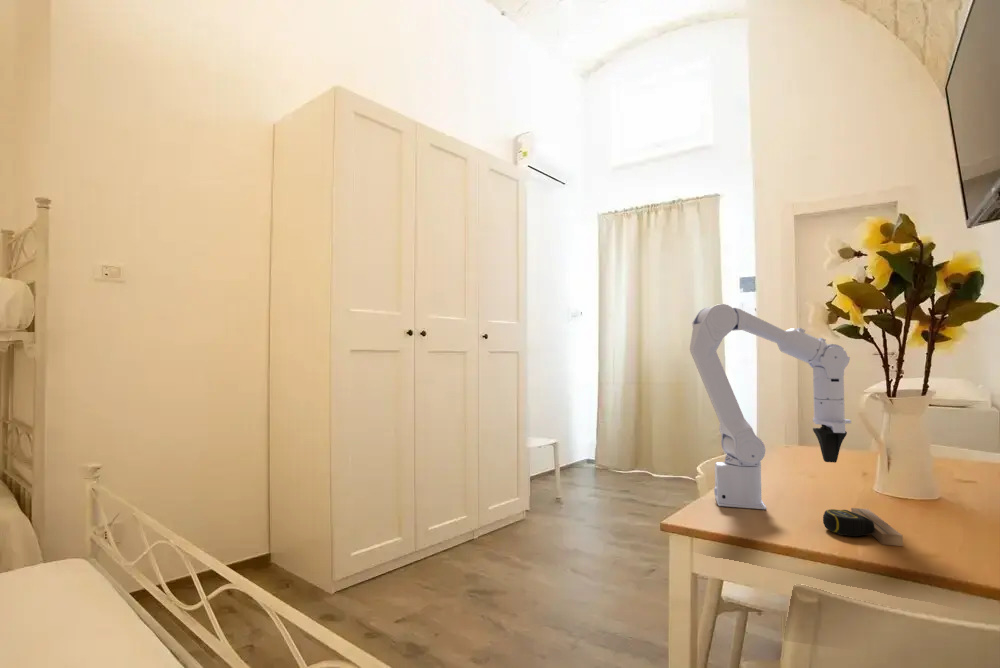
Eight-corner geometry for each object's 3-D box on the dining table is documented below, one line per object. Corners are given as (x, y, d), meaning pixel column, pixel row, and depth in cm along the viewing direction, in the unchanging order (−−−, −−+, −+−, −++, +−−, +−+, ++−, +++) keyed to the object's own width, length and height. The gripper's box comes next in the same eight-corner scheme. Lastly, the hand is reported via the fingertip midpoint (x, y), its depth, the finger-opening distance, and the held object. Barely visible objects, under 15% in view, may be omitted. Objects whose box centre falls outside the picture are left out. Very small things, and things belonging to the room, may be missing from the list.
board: (882, 544, 93) (882, 533, 93) (851, 516, 108) (851, 507, 108) (903, 546, 92) (902, 535, 92) (868, 518, 107) (868, 508, 107)
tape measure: (877, 539, 96) (876, 518, 96) (841, 540, 95) (841, 519, 95) (848, 527, 102) (848, 507, 103) (814, 528, 102) (814, 508, 102)
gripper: (861, 402, 109) (863, 469, 108) (839, 396, 122) (840, 456, 122) (822, 401, 111) (823, 467, 110) (804, 396, 125) (805, 454, 124)
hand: (830, 461), depth 116 cm, fingers closed
